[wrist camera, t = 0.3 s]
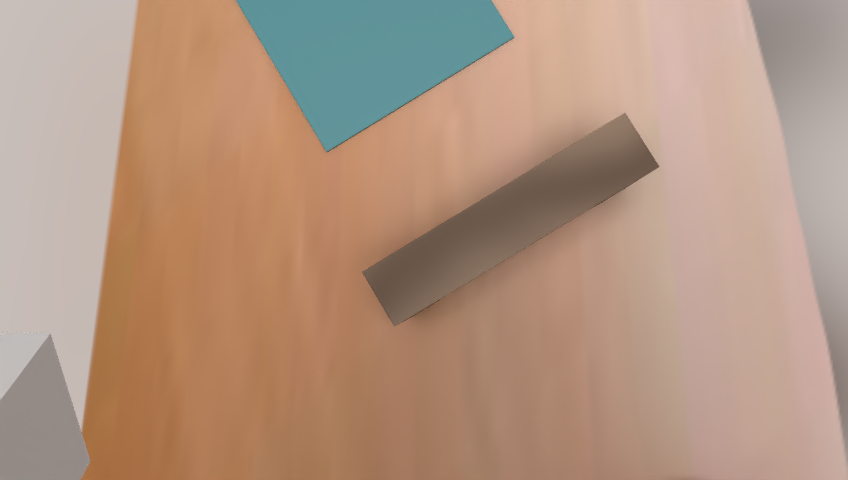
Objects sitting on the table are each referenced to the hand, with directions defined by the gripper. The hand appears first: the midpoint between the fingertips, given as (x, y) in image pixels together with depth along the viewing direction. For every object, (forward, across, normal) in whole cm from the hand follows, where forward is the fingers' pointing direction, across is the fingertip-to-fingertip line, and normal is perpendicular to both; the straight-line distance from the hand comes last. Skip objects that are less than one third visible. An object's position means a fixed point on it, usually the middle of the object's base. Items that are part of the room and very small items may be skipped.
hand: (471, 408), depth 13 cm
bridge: (+31, -2, +15) cm, 35 cm away
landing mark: (+39, +6, +4) cm, 40 cm away
